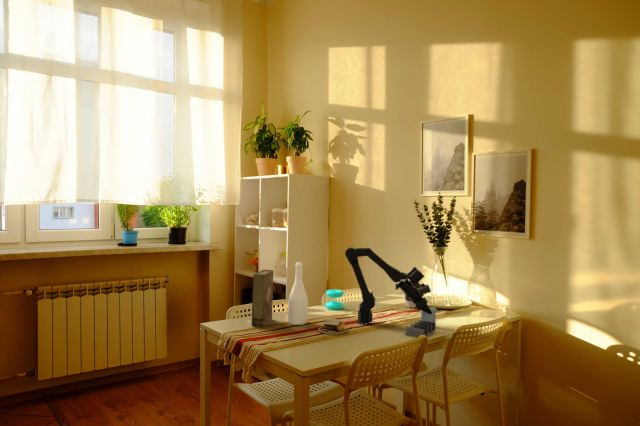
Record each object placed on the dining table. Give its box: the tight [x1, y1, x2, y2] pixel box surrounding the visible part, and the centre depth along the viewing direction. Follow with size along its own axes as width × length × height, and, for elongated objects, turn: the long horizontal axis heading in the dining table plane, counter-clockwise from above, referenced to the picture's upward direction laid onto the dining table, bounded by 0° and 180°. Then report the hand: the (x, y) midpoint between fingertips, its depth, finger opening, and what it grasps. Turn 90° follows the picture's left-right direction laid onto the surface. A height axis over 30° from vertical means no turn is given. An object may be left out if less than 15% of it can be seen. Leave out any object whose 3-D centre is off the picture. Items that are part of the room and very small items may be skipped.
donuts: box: [325, 289, 345, 311], centre depth 288 cm, size 10×10×10 cm
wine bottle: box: [287, 261, 309, 326], centre depth 252 cm, size 10×10×30 cm
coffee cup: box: [404, 280, 422, 306], centre depth 297 cm, size 10×10×15 cm
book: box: [251, 269, 274, 327], centre depth 250 cm, size 16×6×25 cm, turn 168°
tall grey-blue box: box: [420, 307, 437, 324], centre depth 254 cm, size 7×3×9 cm, turn 85°
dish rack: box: [404, 319, 437, 338], centre depth 240 cm, size 9×16×4 cm, turn 147°
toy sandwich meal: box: [317, 318, 346, 336], centre depth 239 cm, size 12×14×5 cm
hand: (431, 313), depth 253 cm, fingers closed on tall grey-blue box, 3 cm apart
